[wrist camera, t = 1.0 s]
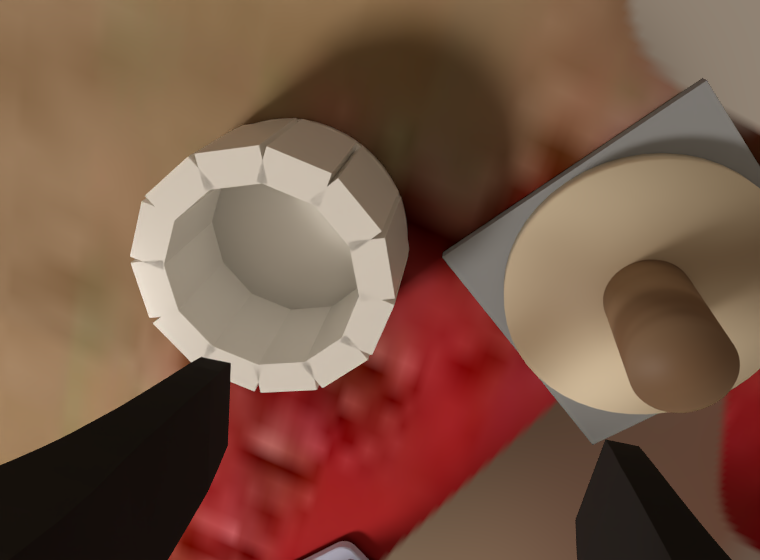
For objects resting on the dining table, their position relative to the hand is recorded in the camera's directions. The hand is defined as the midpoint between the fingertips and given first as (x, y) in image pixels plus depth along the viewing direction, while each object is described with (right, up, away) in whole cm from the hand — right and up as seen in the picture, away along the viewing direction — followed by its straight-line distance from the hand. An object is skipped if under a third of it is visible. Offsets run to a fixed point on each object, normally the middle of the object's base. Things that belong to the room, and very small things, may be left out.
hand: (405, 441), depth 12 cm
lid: (+8, +3, +8) cm, 12 cm away
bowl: (-3, +5, +9) cm, 11 cm away
